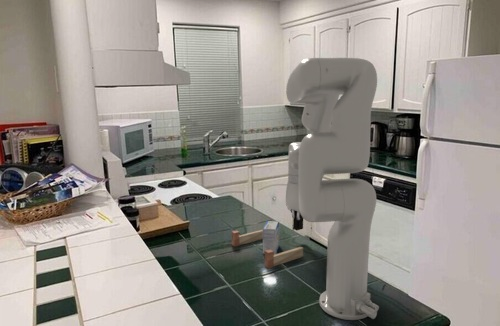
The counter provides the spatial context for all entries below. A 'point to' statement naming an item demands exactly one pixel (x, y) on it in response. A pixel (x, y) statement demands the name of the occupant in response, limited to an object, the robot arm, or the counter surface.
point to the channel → (270, 258)
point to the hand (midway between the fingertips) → (298, 228)
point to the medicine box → (271, 236)
